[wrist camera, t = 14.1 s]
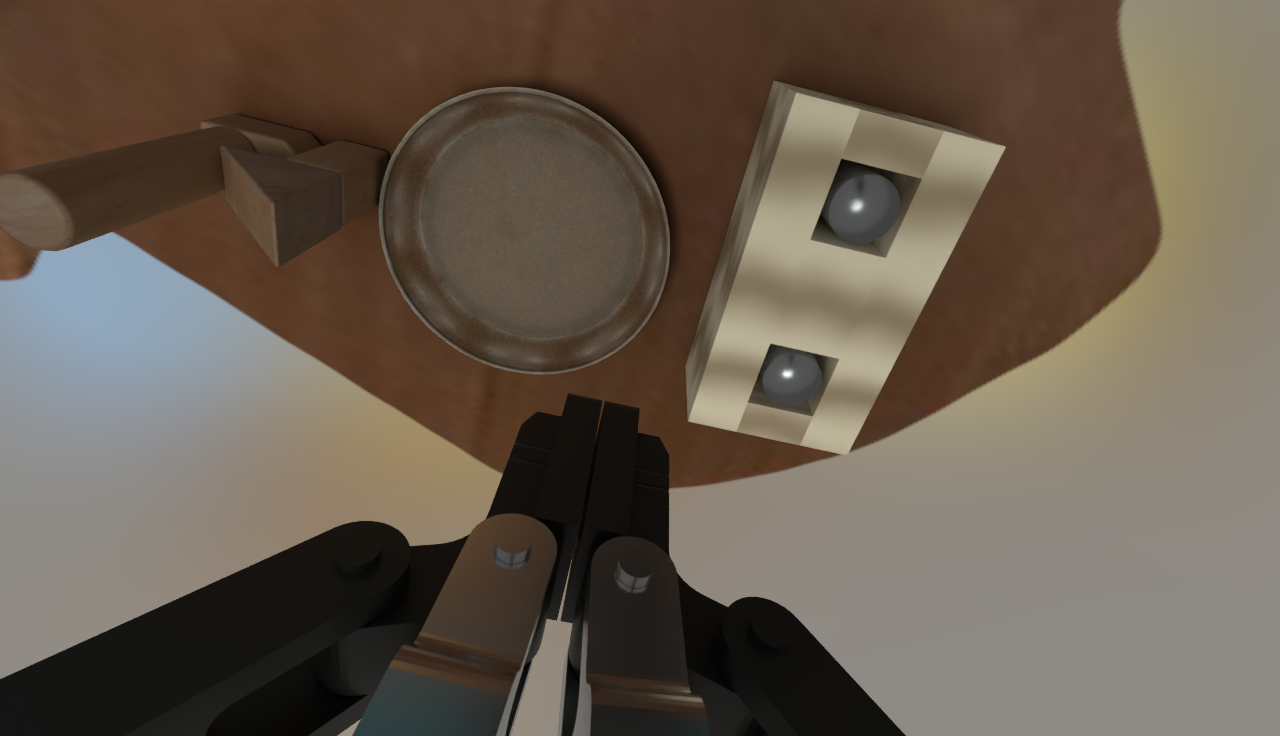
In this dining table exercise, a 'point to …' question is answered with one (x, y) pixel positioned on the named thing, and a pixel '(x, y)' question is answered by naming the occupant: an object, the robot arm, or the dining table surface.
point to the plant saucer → (524, 230)
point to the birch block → (827, 264)
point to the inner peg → (860, 203)
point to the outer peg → (790, 375)
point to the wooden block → (200, 186)
